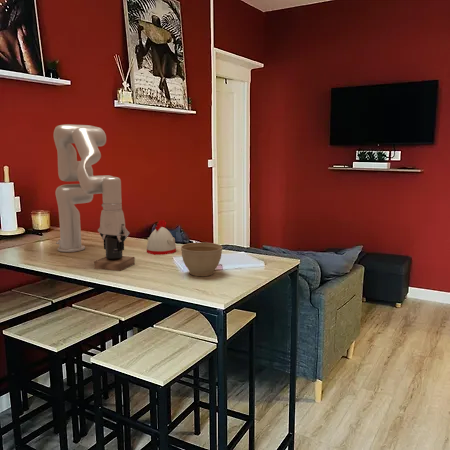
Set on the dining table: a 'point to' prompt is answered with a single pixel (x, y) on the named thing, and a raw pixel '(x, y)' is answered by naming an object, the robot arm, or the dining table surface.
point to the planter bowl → (201, 258)
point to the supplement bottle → (112, 248)
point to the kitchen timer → (161, 241)
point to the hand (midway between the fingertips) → (114, 249)
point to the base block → (114, 263)
